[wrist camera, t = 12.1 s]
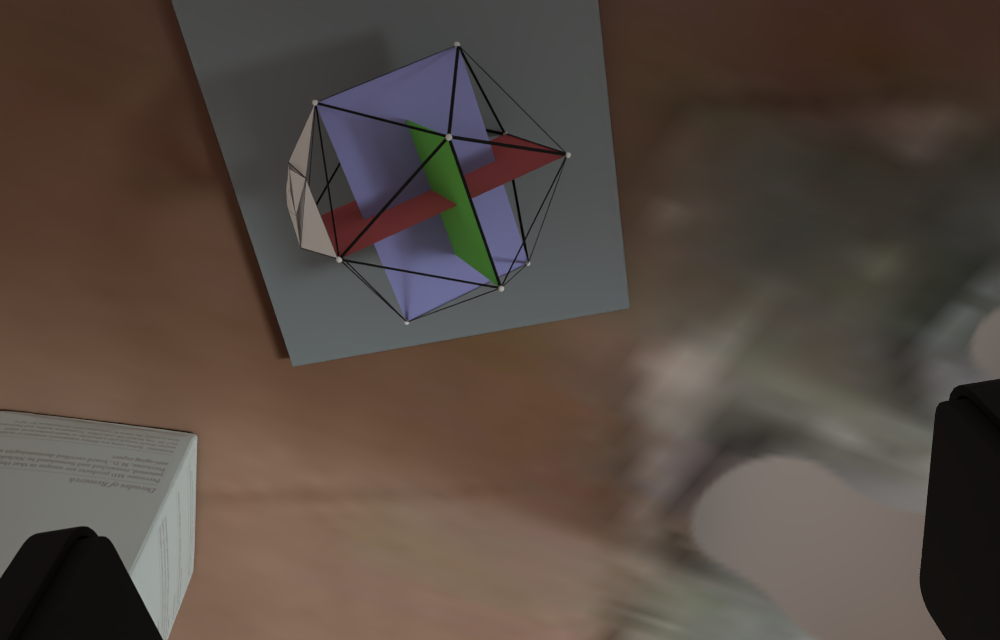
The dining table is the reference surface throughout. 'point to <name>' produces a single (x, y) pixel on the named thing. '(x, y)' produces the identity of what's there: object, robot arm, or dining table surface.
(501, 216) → the geometric puzzle
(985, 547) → the robot arm
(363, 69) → the mat
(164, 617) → the supplement box
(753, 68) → the dining table surface
